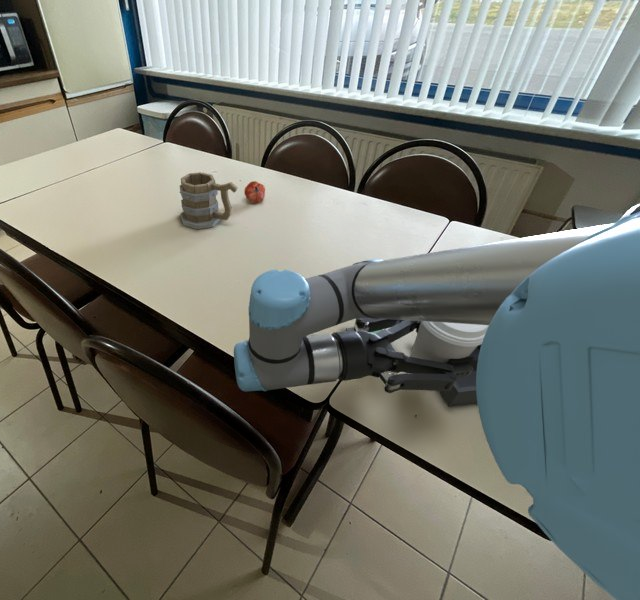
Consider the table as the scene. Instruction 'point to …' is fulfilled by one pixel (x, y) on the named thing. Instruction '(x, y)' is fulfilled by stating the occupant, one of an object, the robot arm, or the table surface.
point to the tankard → (203, 200)
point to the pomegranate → (254, 192)
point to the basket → (463, 387)
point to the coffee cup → (447, 340)
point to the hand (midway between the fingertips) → (469, 341)
